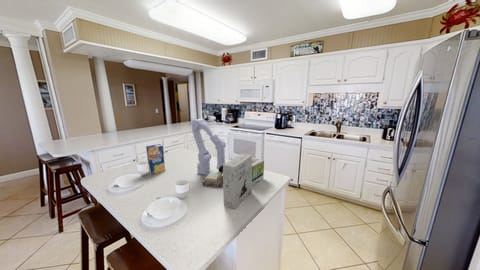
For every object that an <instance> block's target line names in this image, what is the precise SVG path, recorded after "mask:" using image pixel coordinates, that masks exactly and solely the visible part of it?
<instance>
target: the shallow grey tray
mask: <svg viewBox="0 0 480 270" xmlns="http://www.w3.org/2000/svg"><path fill="white" fill-rule="evenodd" d="M201 185H202V186H204V187H212V188H219V189H221V188H222V187H223V178H221V180H220V181H219V182H218V183H212V182H205V179H203V181H202V182H201Z"/></svg>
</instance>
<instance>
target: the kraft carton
mask: <svg viewBox="0 0 480 270" xmlns="http://www.w3.org/2000/svg"><path fill="white" fill-rule="evenodd" d="M222 179H223V174H222V172H219V171H215V170H212V171H211V172H210V173H209V174H208V175H206V177H204V180H205V182H212V183H220V182H221V181H222Z"/></svg>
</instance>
